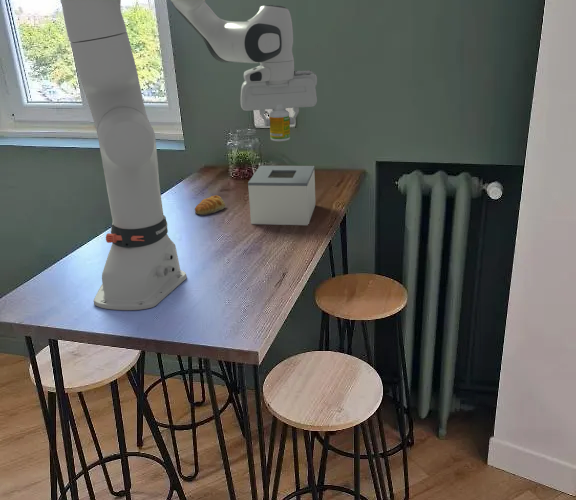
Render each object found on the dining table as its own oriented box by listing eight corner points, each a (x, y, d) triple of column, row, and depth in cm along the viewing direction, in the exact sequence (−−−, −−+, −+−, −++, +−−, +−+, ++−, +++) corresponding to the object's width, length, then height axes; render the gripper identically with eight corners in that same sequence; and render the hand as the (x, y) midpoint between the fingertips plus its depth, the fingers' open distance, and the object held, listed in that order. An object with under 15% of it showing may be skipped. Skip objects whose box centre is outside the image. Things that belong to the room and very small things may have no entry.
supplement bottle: (286, 142, 160) (285, 105, 157) (267, 141, 162) (265, 104, 158) (292, 137, 165) (291, 101, 161) (274, 136, 167) (272, 101, 163)
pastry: (206, 218, 173) (205, 205, 172) (189, 214, 177) (187, 202, 175) (227, 208, 180) (226, 196, 179) (210, 204, 184) (209, 192, 182)
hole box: (308, 225, 164) (307, 183, 159) (251, 224, 167) (248, 182, 162) (315, 205, 178) (314, 165, 174) (262, 204, 181) (260, 165, 176)
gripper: (314, 68, 160) (315, 120, 166) (238, 72, 158) (241, 125, 164) (318, 71, 154) (319, 125, 160) (239, 75, 153) (243, 130, 158)
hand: (279, 125), depth 162 cm, fingers closed on supplement bottle, 5 cm apart
